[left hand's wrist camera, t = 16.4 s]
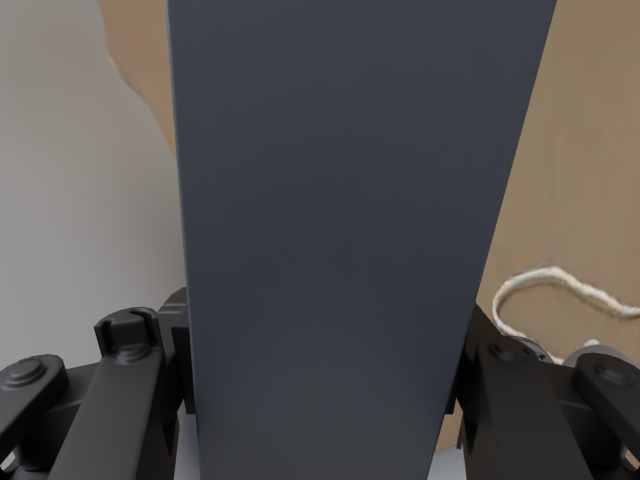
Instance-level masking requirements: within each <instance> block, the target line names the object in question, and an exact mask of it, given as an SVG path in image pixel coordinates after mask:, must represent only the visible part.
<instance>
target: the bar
mask: <svg viewBox="0 0 640 480" xmlns="http://www.w3.org/2000/svg"><path fill="white" fill-rule="evenodd" d="M556 2H557V0H165V6H166V19H167V33H168V46H169V60H170V73H171V87H172V100H173V114H174V127H175V141H176V154H177V168H178V180H179V194H180V208H181V221H182V235H183V248H184V262H185V275H186V289H187V302H188V316H189V329H190V343H191V356H192V370H193V383H194V397H195V410H196V424H197V436H198V450H199V464H200V477H201V480H427V478H428V474H429V471H430V467H431V463H432V460H433V456H434V452H435V448H436V445H437V441H438V437H439V434H440V430H441V426H442V423H443V419H444V415H445V412H446V408H447V404H448V400H449V397H450V393H451V389H452V386H453V382H454V378H455V375H456V371H457V367H458V364H459V360H460V356H461V352H462V349H463V345H464V341H465V338H466V334H467V330H468V327H469V323H470V319H471V316H472V312H473V308H474V304H475V301H476V297H477V293H478V290H479V286H480V282H481V279H482V275H483V271H484V268H485V264H486V260H487V257H488V253H489V249H490V245H491V242H492V238H493V234H494V231H495V227H496V223H497V220H498V216H499V212H500V209H501V205H502V201H503V197H504V194H505V190H506V186H507V183H508V179H509V175H510V172H511V168H512V164H513V161H514V157H515V153H516V149H517V146H518V142H519V138H520V135H521V131H522V127H523V124H524V120H525V116H526V113H527V109H528V105H529V101H530V98H531V94H532V90H533V87H534V83H535V79H536V76H537V72H538V68H539V65H540V61H541V57H542V53H543V50H544V46H545V42H546V39H547V35H548V31H549V28H550V24H551V20H552V17H553V13H554V9H555V6H556Z"/></svg>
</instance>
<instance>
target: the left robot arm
mask: <svg viewBox="0 0 640 480" xmlns="http://www.w3.org/2000/svg"><path fill="white" fill-rule="evenodd" d="M94 330H95V333H96V337H97V341H98V344H99V348H100V351H101V355H102V359H101V361H100V362H98V363H94V364H89V365H85V366H80V367H75V368H70V369H65V366H64V363H63V360H62V359H61V358H60V357H59V356H57V355H50V354H45V355H38V356H32V357H29V358H25V359H22V360H20V361H18V362H16V363H14V364H12V365H10V366H8V367H6V368H5V369H3V370H2V371H0V465H1V464H2V462H3V461H4V460H5V459H6V458H7V456H8V455H9V454H10V453H11V452H12V451H13V453H14V455H15V457H16V458H15V459H14V460H13V462H12V463H11V464H10V465H9V466H8V467H7V468H6V469H5V470H4V471H3V470H2V469H1V467H0V480H174V472H175V463H176V454H177V445H178V436H179V421H178V416H177V411H178V409H179V407H180V405H181V403H182V401H183V399H184V403H185V408H186V413H187V414H196V410H195V397H194V383H193V370H192V356H191V343H190V329H189V316H188V302H187V289H186V287H183V288H181V289H180V290H178V291H176V292H175V293H173V294H172V295H171V296H170V297H169V298H168V299H167V301H166V302H165V303H164V306H162V307H161V308H160V309H159V311H158V313H157V312H156V311H154V310H153V309H151V308H146V307H132V308H128V309H123V310H120V311H117V312H115V313H112V314H110V315H108V316H106V317H105V318H103V319H101V320H100V321H99V322H98V323H97V324H96V325H95V326H94ZM456 398H457V400H458V402H459V404H460V406H461V408H462V410H463V416H462V421H461V426H460V431H459V436H458V441H457V445H455V446H451V447H448V448H445V449H441V450H438V451H435V452H434V456H433V460H432V463H431V467H430V471H429V474H428V478H427V480H640V466H639V468H638V469H636V468H635V467H634V466H633V465H631V464H630V462H629V461H628V460H627V459H626V458H625V454H626V452H627V450H629V451H630V452H631V453H632V454H633V455H634V457H635V458H636V459H637V460H638V461H639V462H640V370H639V369H638V368H637V367H635V366H634V365H632V364H629V363H627V362H625V361H623V360H622V359H620V358H617V357H612V356H611V355H606V354H599V353H585V354H582V355H581V356H579V357H578V358H577V361H576V365H575V367H574V368H572V367H567V366H563V365H558V364H554V362H553V361H552V359H551V358H550V356H549V355H548V354H547V353H546V352H545V350H544V349H543V348H542V347H541V346H540V345H538V344H537V343H535V342H534V341H532V340H529V339H526V338H523V337H517V336H503V335H502V334H501V333H500V332H499V331H498V329H497V328H496V327H495V326H494V324H493V323H492V322H491V321H490V319H489V318H488V317H487V316H486V314H485V313H484V312H482V310H481V308H480V307H479V306H478V305H476V302H475V304H474V308H473V312H472V316H471V319H470V323H469V327H468V330H467V334H466V338H465V341H464V345H463V349H462V352H461V356H460V360H459V364H458V367H457V371H456V375H455V378H454V382H453V386H452V389H451V393H450V397H449V400H448V404H447V408H446V412H445V414H453V412H454V406H455V401H456Z"/></svg>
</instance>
